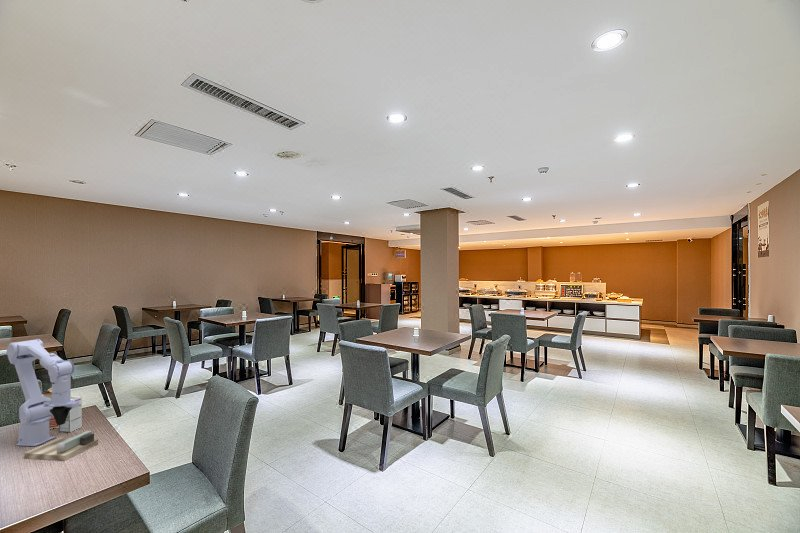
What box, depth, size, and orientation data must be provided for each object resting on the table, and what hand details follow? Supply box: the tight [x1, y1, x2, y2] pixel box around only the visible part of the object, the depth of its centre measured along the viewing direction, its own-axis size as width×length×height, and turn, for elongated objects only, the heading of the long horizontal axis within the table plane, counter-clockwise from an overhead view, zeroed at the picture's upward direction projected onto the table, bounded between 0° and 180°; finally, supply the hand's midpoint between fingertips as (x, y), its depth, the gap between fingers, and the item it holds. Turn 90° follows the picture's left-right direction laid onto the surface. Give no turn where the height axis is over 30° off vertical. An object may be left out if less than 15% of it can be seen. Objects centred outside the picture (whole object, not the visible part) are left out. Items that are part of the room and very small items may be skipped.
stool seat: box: [23, 433, 99, 462], centre depth 145 cm, size 18×14×5 cm
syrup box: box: [58, 396, 83, 433], centre depth 165 cm, size 6×6×14 cm
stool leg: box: [57, 430, 93, 453], centre depth 145 cm, size 13×2×3 cm, turn 174°
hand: (61, 424), depth 149 cm, fingers closed
